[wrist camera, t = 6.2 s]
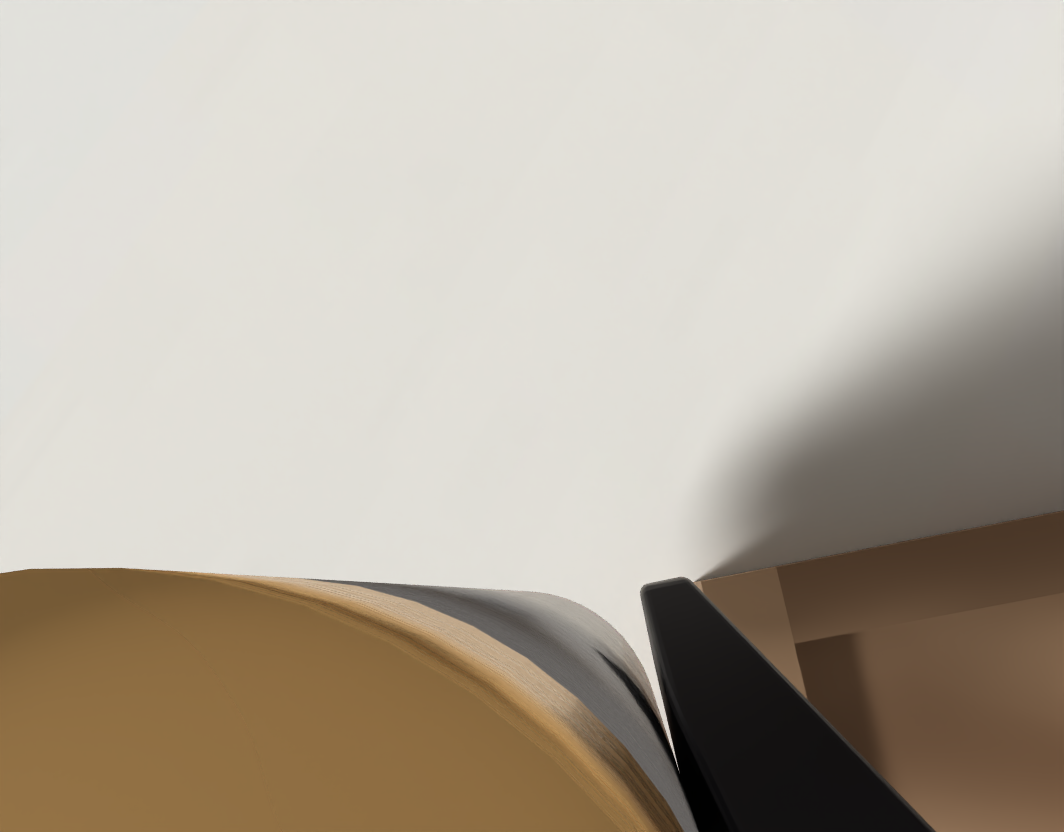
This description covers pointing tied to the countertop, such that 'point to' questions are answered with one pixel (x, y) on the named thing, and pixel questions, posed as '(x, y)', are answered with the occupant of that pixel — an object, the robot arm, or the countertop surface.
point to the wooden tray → (931, 664)
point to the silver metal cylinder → (320, 709)
